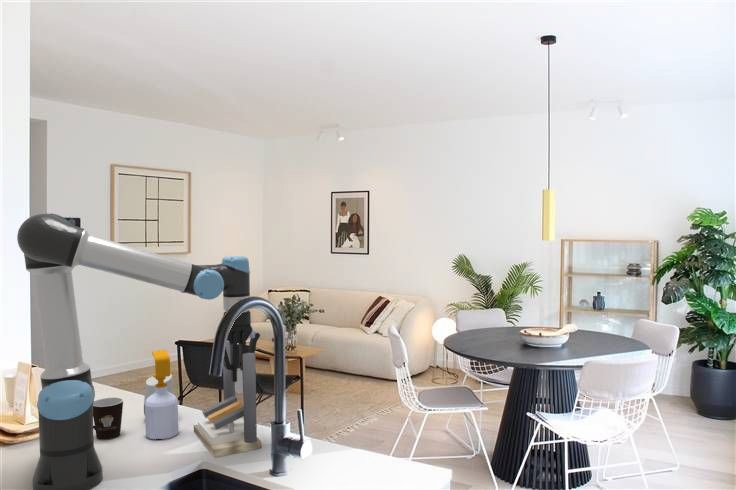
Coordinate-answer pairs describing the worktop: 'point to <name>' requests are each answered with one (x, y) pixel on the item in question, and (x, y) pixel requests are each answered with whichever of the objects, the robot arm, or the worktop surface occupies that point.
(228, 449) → the board
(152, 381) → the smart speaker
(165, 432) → the soap bottle
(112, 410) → the coffee mug
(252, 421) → the posts
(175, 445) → the worktop surface
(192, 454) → the worktop surface
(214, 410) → the back paddle
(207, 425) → the block
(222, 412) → the middle paddle
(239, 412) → the bar
